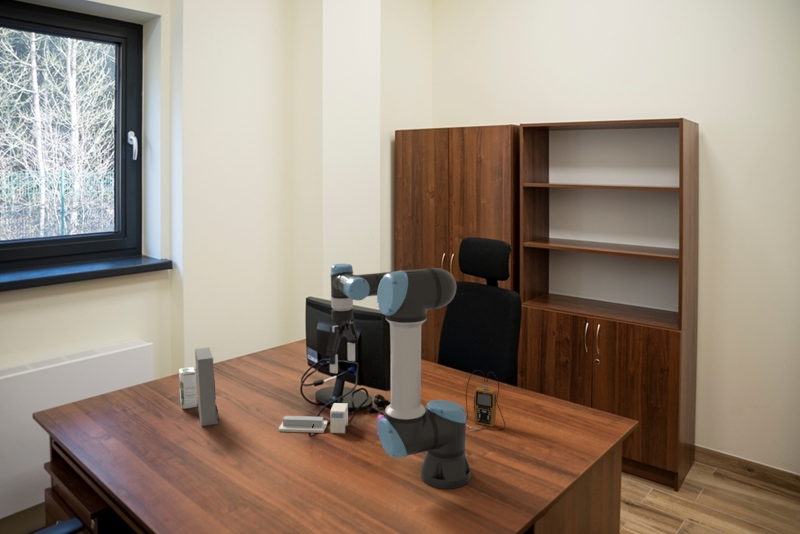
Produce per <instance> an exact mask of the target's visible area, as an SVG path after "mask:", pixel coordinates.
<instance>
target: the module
mask: <svg viewBox="0 0 800 534" xmlns="http://www.w3.org/2000/svg"><path fill="white" fill-rule="evenodd" d="M348 404H349V403H345V402H342V403H341V402H340V403H339V402H337V403H336V402H334V403H333V404H332V406H331V409H330V413H329V415H330V419H329V421H330V434H345V433H346V427H347V426H349V405H348Z"/></svg>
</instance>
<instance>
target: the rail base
mask: <svg viewBox="0 0 800 534" xmlns="http://www.w3.org/2000/svg"><path fill="white" fill-rule="evenodd" d="M313 424H314V427H313V428H312V426H313ZM327 426H328V420H324V416H311V415H310V416H309V415H308V416H305V415H304V416H303V415H302V416H301V415H285V416H284V417H283V418H282V422H281V424H280V425H279V427H278V430H277V431H278V432H283V433H284V432H286V433H289V432H290V433H292V432H293V433H315V434H316V433H318V434H319V433H320V434H324V432H325V431H326V428H327Z"/></svg>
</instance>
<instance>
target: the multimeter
mask: <svg viewBox="0 0 800 534" xmlns="http://www.w3.org/2000/svg"><path fill="white" fill-rule="evenodd" d="M477 371H478V372H480V373H482V374H483V377H484V379H483V387H480V386H478V387H476V388H475V390H474V397H473V414H474V423H475V425H478V424H479V425H483V426H488V427H486V429H488V430H489V431H490V430H491V431H494V429H492V428H493V427H494V426H495V425H496V422H497V421H496V419H497V418H496V417H497V408H498V410H499V412H500V415H501V417H502V420H503V424H504V426H503V428H501V429H499V431H501V430H504V429H505V428H506V423H505V419H504V415H503V413H502V411H501V409H500V407H499V404H498V398H499V397H498V396H499V393H500V392H499V391H500V382H499V378H498V376H496V374H495V373H494V372H493V371H489V372H488V373H487V376H486V375H485V373H484V371H482V370H481V369H480V370H478V369H476V370H475V369H474V371H472V372H471V373H470V375H469V377H468V380H467V381H468V382H467V384H466V390H465V403H466V408H468V401H467V400H468V399H467V397H468V396H467V394H468V386H469V383H470V380H471V377H472V375H473V374H474V373H475V372H477ZM491 373H492V374H493V375H494V377H495V379H496V380H497V385H498V387H497V389H498V390H495V389H489V383H488V381H489V380H488V378H489V374H491ZM468 417H469V415H468V411H466V422H468ZM489 427H492V428H489ZM466 428H468V429H469V431H470V432H471V431H472V432H473V431H474V432H475V431H478V430H479V431H480V430H483V429H485V427H482V428H481V427H480V428H479V427H478V428H474V429H473V428H472V427H471V426H470V425H468V424H467V423H466ZM470 429H471V430H470Z"/></svg>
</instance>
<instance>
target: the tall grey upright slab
mask: <svg viewBox="0 0 800 534" xmlns="http://www.w3.org/2000/svg"><path fill="white" fill-rule="evenodd" d="M194 359H195V374H196V394H197V407H198V408H197V412H198V416H199V417H198V418H199V423H200V426H201V427H205V426H213V425H218V424H219V409H218V407H217V404H216V403H217V402H216V400H217V398H216V380H215V368H214V357H213V354H212V351H211V349H210V347H203V348H201V347H200V348H195V349H194Z"/></svg>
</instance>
